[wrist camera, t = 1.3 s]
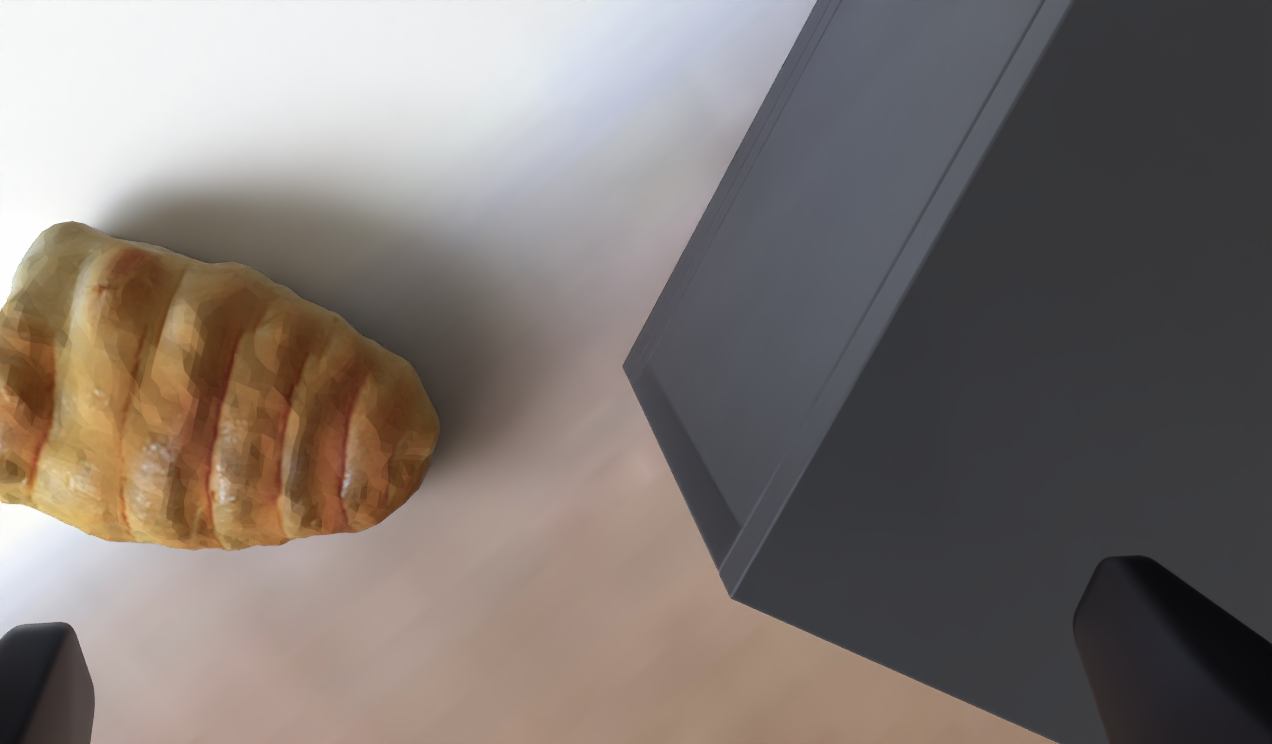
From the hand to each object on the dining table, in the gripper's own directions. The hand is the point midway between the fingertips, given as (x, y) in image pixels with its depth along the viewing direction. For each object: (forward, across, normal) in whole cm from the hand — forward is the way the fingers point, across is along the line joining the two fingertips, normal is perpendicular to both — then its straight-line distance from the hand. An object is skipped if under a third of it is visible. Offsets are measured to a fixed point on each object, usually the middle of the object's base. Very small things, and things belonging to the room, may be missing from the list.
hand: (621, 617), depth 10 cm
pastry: (+15, +7, +9) cm, 19 cm away
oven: (+16, -11, +5) cm, 20 cm away
